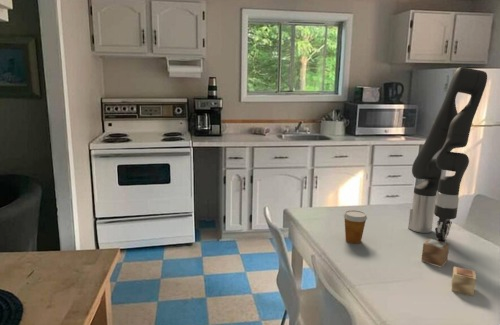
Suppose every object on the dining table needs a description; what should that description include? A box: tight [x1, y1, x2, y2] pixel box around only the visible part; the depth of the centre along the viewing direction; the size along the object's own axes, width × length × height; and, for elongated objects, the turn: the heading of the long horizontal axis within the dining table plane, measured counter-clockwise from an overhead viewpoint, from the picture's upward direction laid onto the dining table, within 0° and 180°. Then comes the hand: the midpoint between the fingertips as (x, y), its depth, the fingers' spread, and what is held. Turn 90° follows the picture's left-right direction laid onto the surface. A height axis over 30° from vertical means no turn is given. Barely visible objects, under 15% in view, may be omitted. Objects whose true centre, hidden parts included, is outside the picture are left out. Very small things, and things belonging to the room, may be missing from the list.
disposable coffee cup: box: [343, 209, 368, 244], centre depth 157 cm, size 10×10×12 cm
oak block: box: [451, 266, 477, 297], centre depth 120 cm, size 6×6×6 cm
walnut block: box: [421, 238, 450, 268], centre depth 139 cm, size 7×7×7 cm
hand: (440, 247), depth 144 cm, fingers closed
